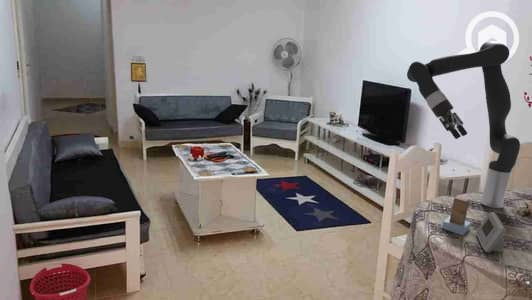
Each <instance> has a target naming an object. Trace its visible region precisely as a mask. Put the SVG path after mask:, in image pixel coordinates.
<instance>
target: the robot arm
mask: <svg viewBox="0 0 532 300" xmlns="http://www.w3.org/2000/svg"><path fill="white" fill-rule="evenodd" d="M509 57H510V50H509V48H508V46H507V45H505V44H504V43H501V42H497V41H494V40H488V41H485V42H484V43H482V45H481V46H480V48H479V50H478V51H475V52H471V53H462V54H452V55H446V56H442V57H438V58H434V59H432V60H430V61H429V62H428V63H423V62H421V61H419V60H418V61H414V62H412V63H411V64H410V65H409V66H408V69H407V72H406V77H407V80H408V81H410V82H412V83H416V84H417V86H418V90H419V93H420V94H421V96H422V98H423V99H424V100H425V102H426V105H428V107H429V109H430V110H431V112H432V113H433V114H434V116H435V117H436V118H437V119H438V120H439V122H440V123H441V125H442V126H443V127H444V128H445V130H446V131H447V132H450V133H451V135H452V136H453V138H454V139H455V140H458V139H460V138H461V136H462V137H465V136H466V135H468V132H467V130H466V128H465V127H464V125H463V124H464V122H463V121H462V120H461V118H460V117H459V115H458V114H457V112H452V110H453V109H454V106H453V105H452V103H451V102H450V100H449V99H448V97H447V96H446V95H445V93H444V92H443V91H442V90H441V89H440V88H439V86H438V84H436V82H435V81H434V78H433V77H437V76H442V75H446V74H450V73H455V72H458V71H463V70H468V69H473V68H481V70H482V74H483V81H484V91H485V101H486V107H487V108H486V109H487V117H488V123H489V124H488V125H489V147H490V149H491V150H492V151H493V152H494V153H496V154H498V157H497V160H491V161H489V163H488V168H487V171H486V176H485V182H484V186H483V191H482V195H481V199H480V203H481V204H482V205H484V206H486V207H488V208H492V209H502V208H503V207H504V203H505V198H506V196H507V195H506V194H507V190H508V186H509V182H510V178H511V174H512V170H513V168H514V167H515V165H516V162H517V160H518V159H517V158H518V156H519V153H520V149H521V143H520V139H519V138H517V137H515V136H512V135H509V134H507V133H508V132H507V129H506V119H507V118H508V116H509V114H510V111H511V108H512V100H511V93H510V88H509V86H508V83H507V82H506V78H505V77H504V75H503V71H502V65H503V64H504V63H506V62H507V60H508V59H509Z"/></svg>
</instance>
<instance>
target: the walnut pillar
mask: <svg viewBox="0 0 532 300" xmlns="http://www.w3.org/2000/svg"><path fill="white" fill-rule="evenodd" d="M470 200H471V199H470V198H469V197H466V196H463V195H457V196H455V197H454V199H453V201H452V202H453V203H452V206H451V211H450V215H449V217H450V221H449V222H452V223H455V224H458V225H462V224H463V223H464V222H465V221H466V219H467V213H468V209H469V204H470Z"/></svg>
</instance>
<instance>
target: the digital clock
mask: <svg viewBox="0 0 532 300" xmlns="http://www.w3.org/2000/svg"><path fill="white" fill-rule="evenodd" d="M506 232H507V230H506V228H505V226H504V225H503V223H502V221H501V219H500V218H499V216H498V215H497V213H496V212H494V211H491V212H489V213H488V214H487V216H486V217H485V218H484V220H483V222H482V223H481V224H480V225H479V227H478V228H477V229H476V232H475V234H476V237H477V238H478V240H479V243H480V246H481V247H482V249H483V250H484V252H485V253H488V254H489V253H491V252H499V253H503V251H504V250H503V249H504V247H505V240H504V235H505V234H506Z"/></svg>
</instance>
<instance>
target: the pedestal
mask: <svg viewBox="0 0 532 300" xmlns="http://www.w3.org/2000/svg"><path fill="white" fill-rule="evenodd" d="M449 221H450V216H448V217H447V218H446V219H444V221H443V222H442V226H441V228H442V229H443V230H447V231H449V232H452V233H454V234H458V235H461V236H464V235H465V234H466V233H468V231H469V230H470V229H471V228H470V227H471V223H472V222H471V221H468V220H465V222H464V223H463V224H462V225H458V224H455V223H452V222H449Z"/></svg>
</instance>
